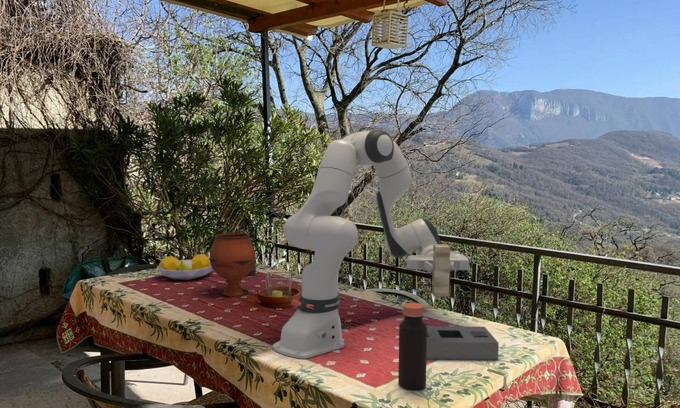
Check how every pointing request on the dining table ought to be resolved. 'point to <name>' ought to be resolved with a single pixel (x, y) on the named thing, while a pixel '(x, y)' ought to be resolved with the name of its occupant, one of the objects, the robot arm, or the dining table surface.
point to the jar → (252, 271)
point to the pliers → (341, 298)
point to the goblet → (232, 259)
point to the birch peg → (441, 270)
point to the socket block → (460, 343)
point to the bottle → (412, 348)
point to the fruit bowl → (185, 267)
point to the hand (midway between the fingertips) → (441, 267)
